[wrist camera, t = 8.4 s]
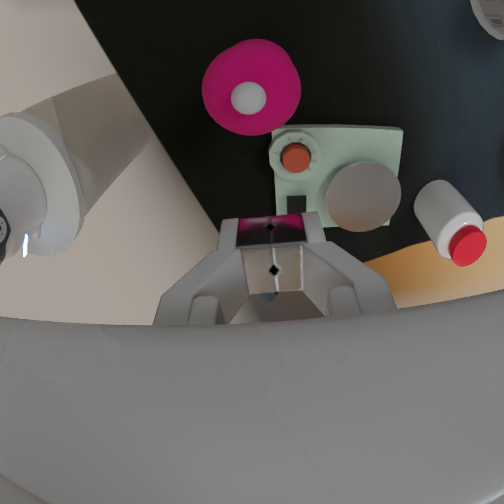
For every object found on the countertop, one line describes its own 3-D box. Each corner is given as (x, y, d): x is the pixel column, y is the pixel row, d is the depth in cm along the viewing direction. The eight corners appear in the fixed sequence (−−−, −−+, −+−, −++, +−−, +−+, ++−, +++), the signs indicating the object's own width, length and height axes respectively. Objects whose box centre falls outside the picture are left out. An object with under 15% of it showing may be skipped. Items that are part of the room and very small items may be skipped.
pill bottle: (421, 231, 41) (450, 281, 33) (407, 195, 37) (440, 244, 29) (460, 209, 38) (494, 255, 29) (449, 170, 34) (490, 213, 26)
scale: (273, 223, 42) (274, 236, 39) (267, 125, 33) (267, 133, 30) (386, 219, 40) (392, 232, 38) (399, 127, 31) (408, 135, 29)
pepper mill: (273, 108, 31) (282, 187, 16) (215, 85, 30) (157, 139, 14) (301, 56, 27) (348, 72, 12) (240, 30, 25) (206, 11, 10)
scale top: (287, 232, 39) (287, 234, 39) (285, 161, 32) (285, 162, 32) (393, 229, 38) (394, 230, 37) (405, 161, 31) (406, 163, 31)
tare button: (282, 168, 33) (283, 173, 32) (281, 144, 32) (282, 148, 30) (308, 167, 33) (310, 172, 32) (308, 143, 31) (310, 147, 30)
